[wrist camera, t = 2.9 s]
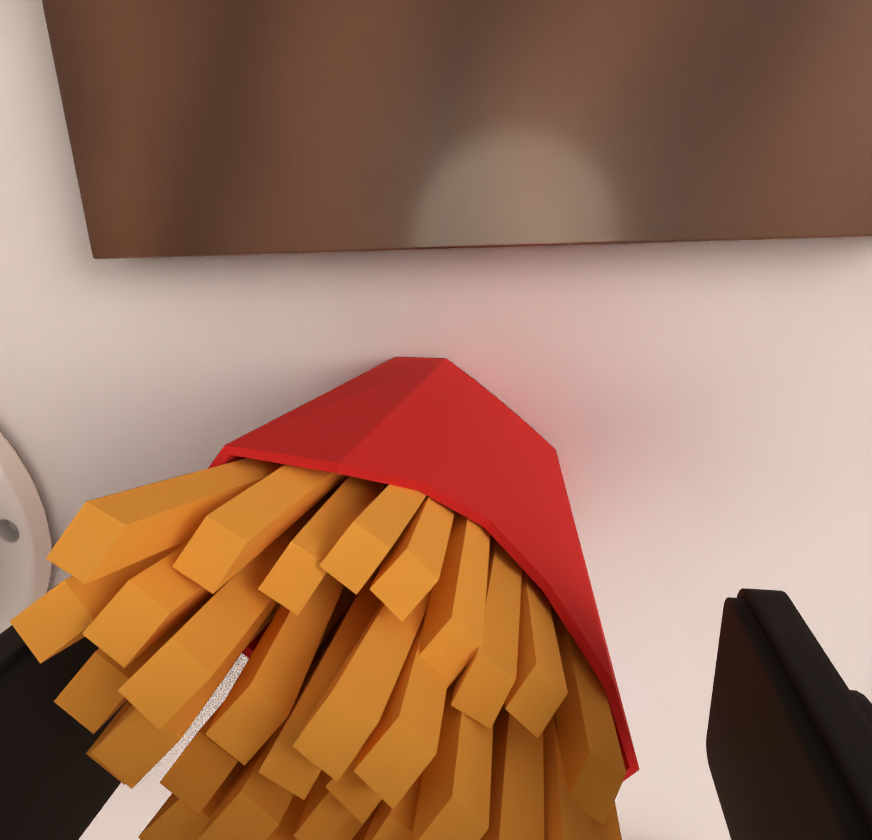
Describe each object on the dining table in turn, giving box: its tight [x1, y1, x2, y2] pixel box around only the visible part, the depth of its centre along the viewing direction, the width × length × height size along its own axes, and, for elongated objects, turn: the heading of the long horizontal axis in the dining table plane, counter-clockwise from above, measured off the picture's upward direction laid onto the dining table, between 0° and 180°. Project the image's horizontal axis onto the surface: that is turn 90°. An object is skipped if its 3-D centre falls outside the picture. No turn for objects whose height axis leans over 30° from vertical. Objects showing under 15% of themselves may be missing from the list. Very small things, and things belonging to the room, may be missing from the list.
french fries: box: [10, 357, 639, 840], centre depth 13 cm, size 9×4×13 cm, turn 51°
